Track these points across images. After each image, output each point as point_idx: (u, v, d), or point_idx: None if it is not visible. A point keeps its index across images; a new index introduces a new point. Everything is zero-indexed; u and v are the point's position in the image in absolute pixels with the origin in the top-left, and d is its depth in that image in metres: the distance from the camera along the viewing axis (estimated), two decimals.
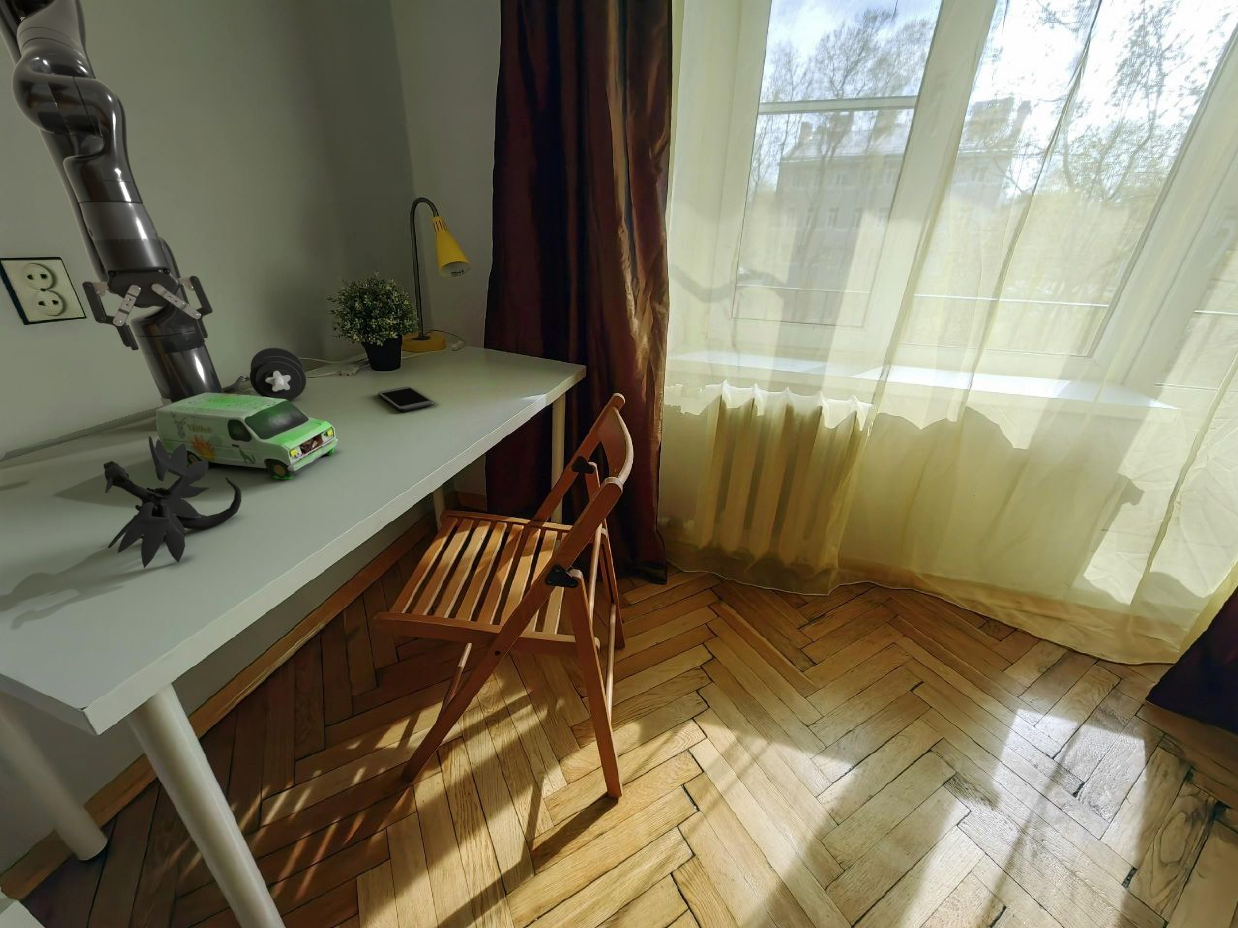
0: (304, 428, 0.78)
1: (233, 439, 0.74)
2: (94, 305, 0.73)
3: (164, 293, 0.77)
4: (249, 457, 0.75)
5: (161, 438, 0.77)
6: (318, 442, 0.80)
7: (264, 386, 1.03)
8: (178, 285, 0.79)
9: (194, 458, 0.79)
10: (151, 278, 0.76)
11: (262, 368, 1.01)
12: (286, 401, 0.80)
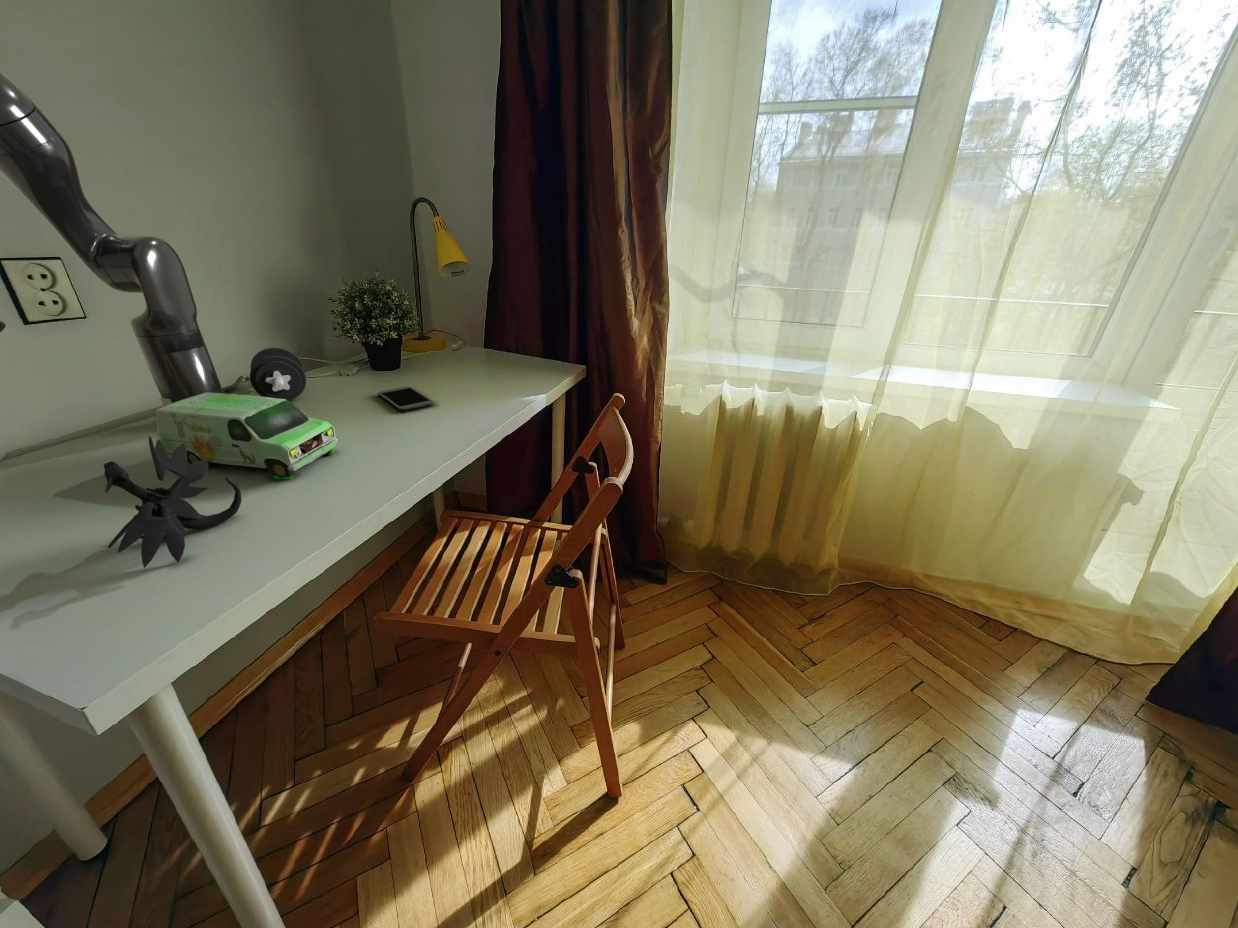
0: (304, 428, 0.78)
1: (233, 439, 0.74)
2: None
3: None
4: (249, 456, 0.75)
5: (161, 438, 0.77)
6: (318, 442, 0.80)
7: (264, 386, 1.03)
8: None
9: (194, 458, 0.79)
10: None
11: (262, 368, 1.01)
12: (286, 401, 0.80)
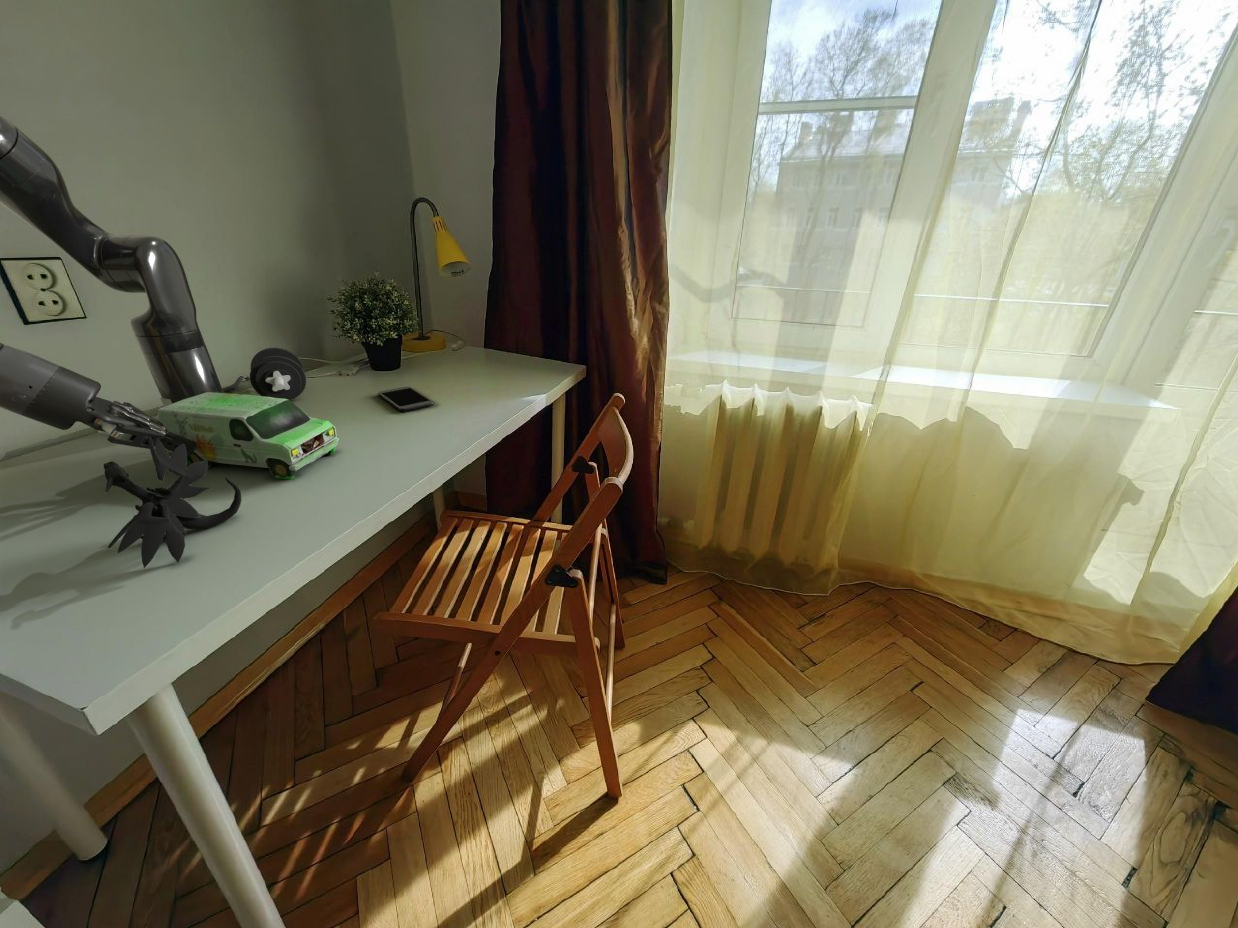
0: (305, 428, 0.78)
1: (234, 439, 0.74)
2: None
3: (107, 434, 0.68)
4: (251, 456, 0.75)
5: None
6: (319, 442, 0.80)
7: (264, 386, 1.03)
8: (101, 430, 0.65)
9: (195, 458, 0.79)
10: None
11: (262, 368, 1.01)
12: (287, 401, 0.80)
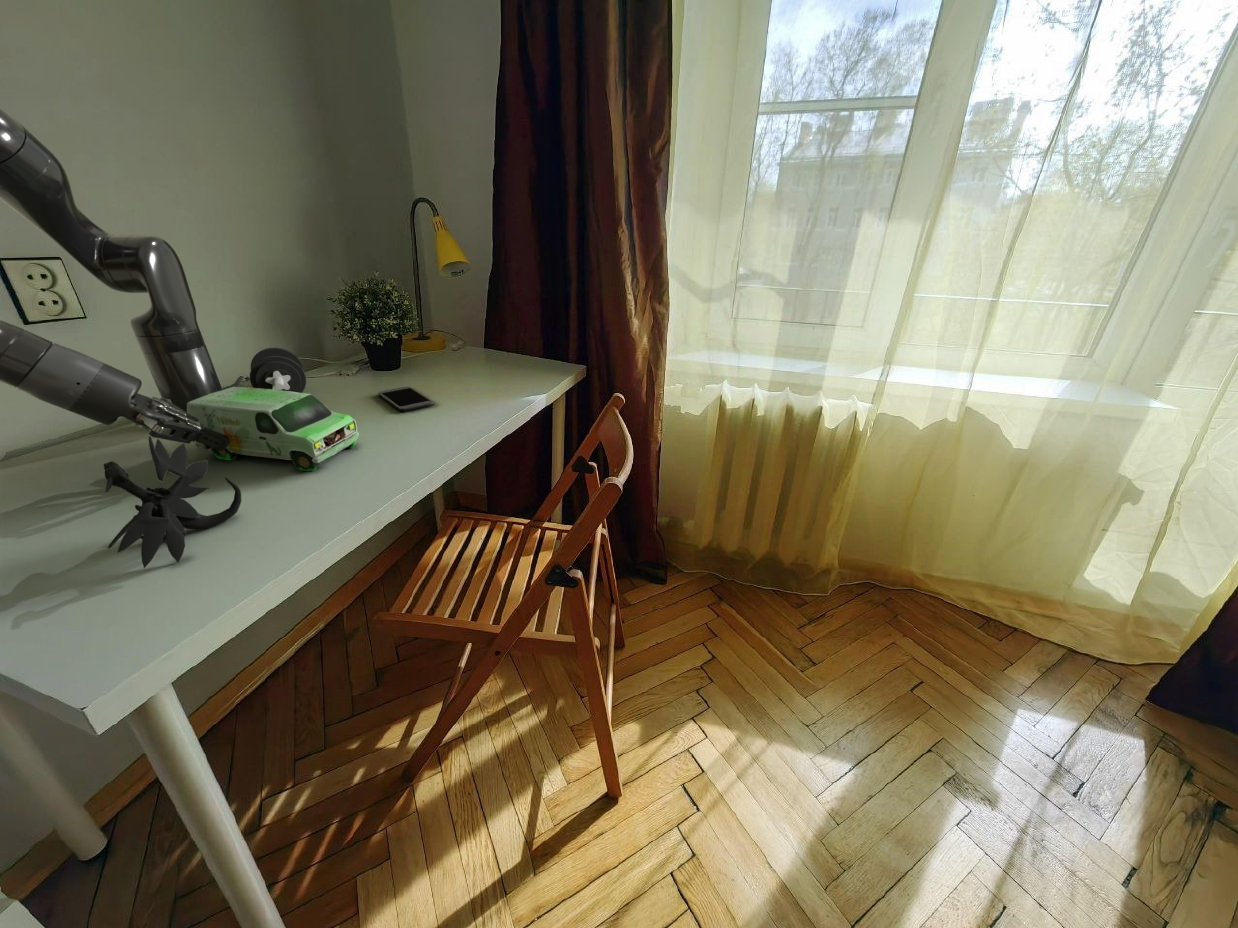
0: (327, 422, 0.80)
1: (260, 432, 0.77)
2: None
3: (148, 429, 0.70)
4: (275, 449, 0.78)
5: None
6: (341, 435, 0.82)
7: (264, 386, 1.03)
8: (143, 425, 0.68)
9: None
10: None
11: (262, 368, 1.01)
12: (310, 395, 0.83)
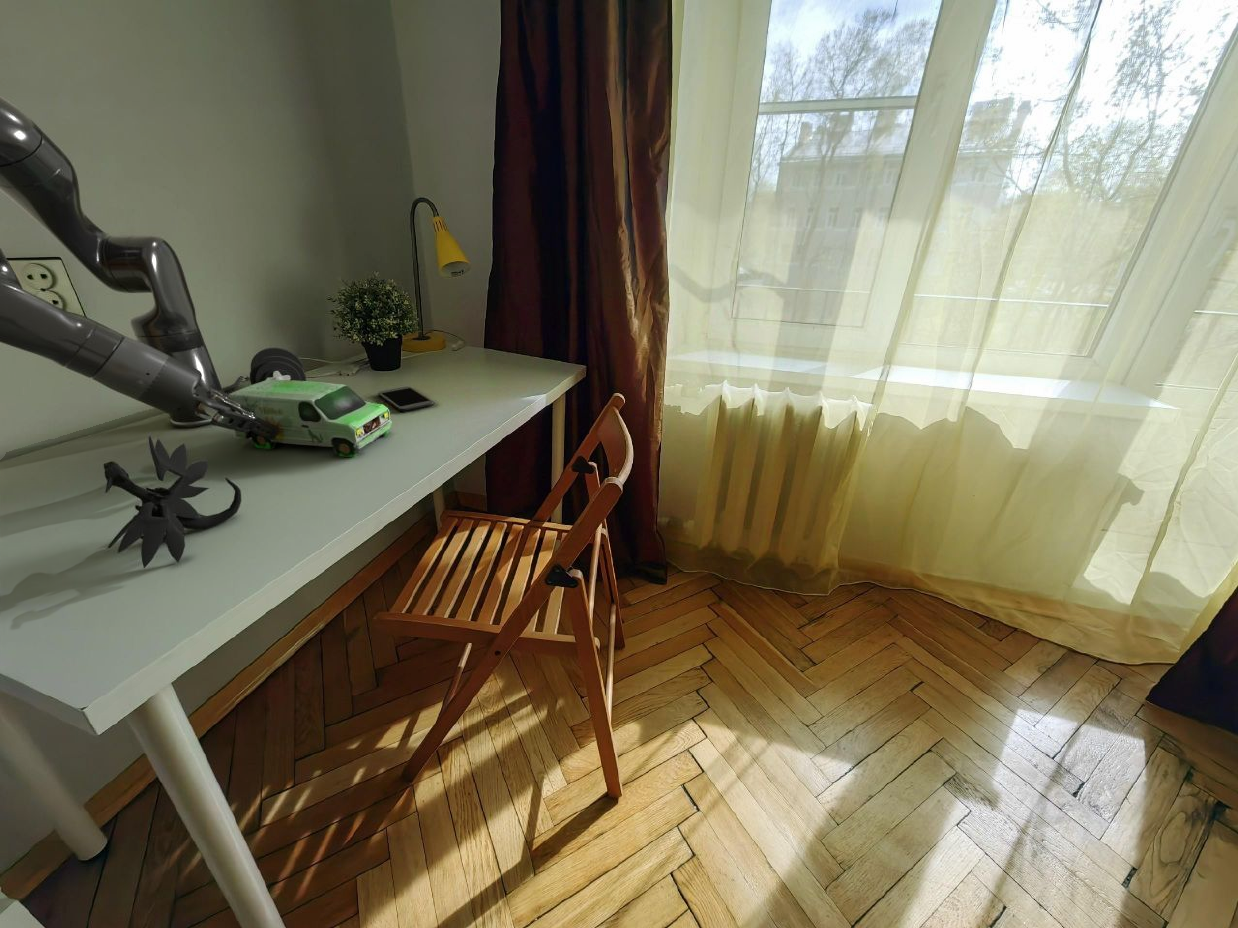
0: (364, 410, 0.85)
1: (302, 420, 0.81)
2: None
3: (207, 418, 0.74)
4: (317, 436, 0.82)
5: None
6: (376, 423, 0.87)
7: None
8: (204, 414, 0.72)
9: (262, 439, 0.85)
10: None
11: (262, 368, 1.01)
12: (346, 386, 0.87)
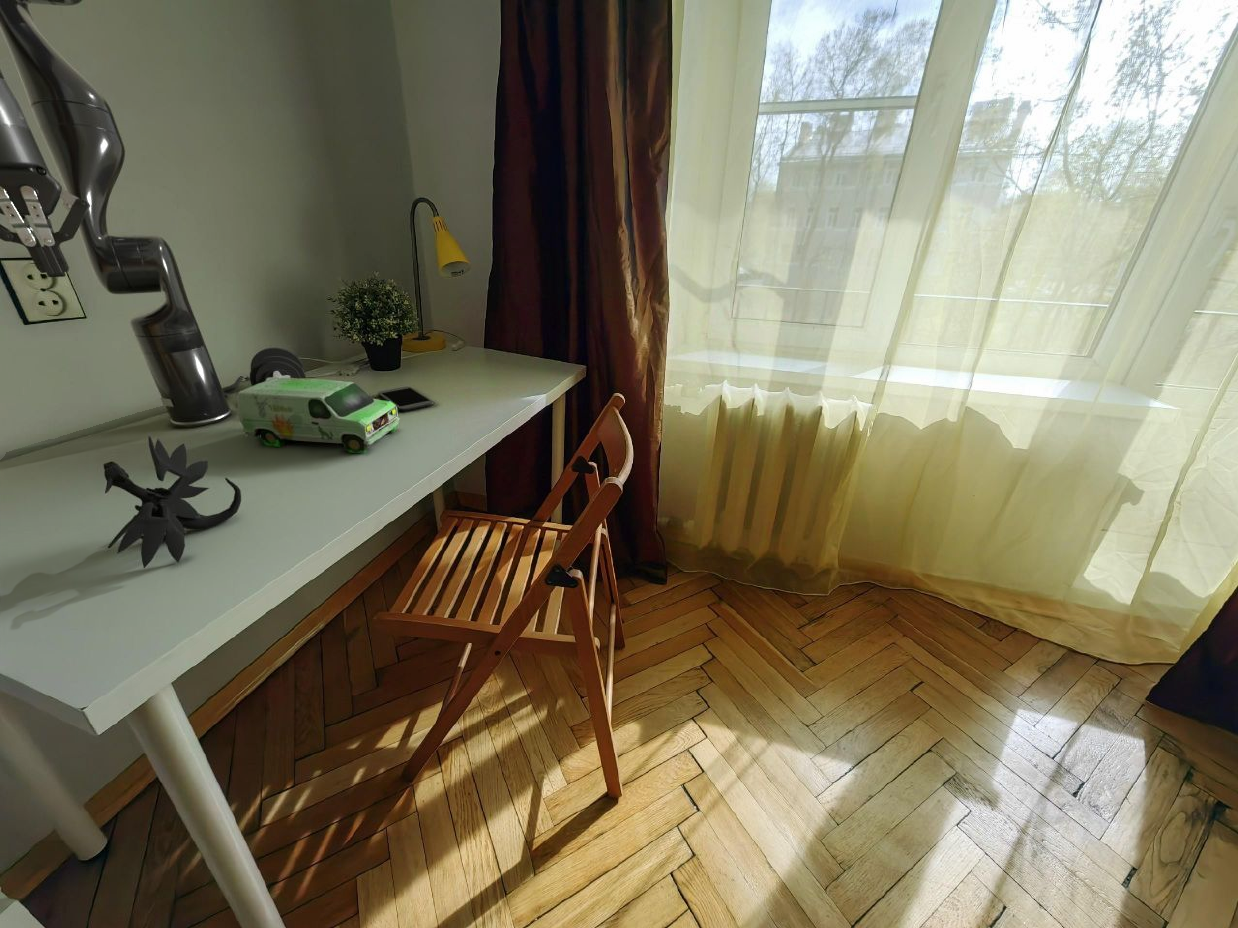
0: (373, 407, 0.86)
1: (312, 417, 0.82)
2: None
3: (39, 199, 0.62)
4: (327, 433, 0.83)
5: (241, 418, 0.85)
6: (384, 420, 0.88)
7: None
8: (59, 191, 0.63)
9: (271, 437, 0.86)
10: (20, 178, 0.61)
11: (262, 368, 1.01)
12: (354, 384, 0.88)
